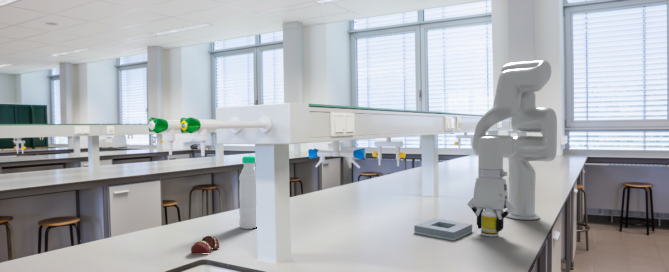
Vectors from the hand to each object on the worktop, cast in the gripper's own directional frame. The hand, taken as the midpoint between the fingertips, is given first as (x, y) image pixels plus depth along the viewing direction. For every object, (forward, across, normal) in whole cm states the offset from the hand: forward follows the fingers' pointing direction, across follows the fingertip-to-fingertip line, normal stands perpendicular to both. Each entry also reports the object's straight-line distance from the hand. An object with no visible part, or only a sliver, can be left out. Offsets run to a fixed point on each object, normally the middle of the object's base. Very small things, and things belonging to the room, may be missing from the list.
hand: (489, 228), depth 141 cm
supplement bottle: (+2, 0, 0) cm, 2 cm away
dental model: (+2, +55, +71) cm, 90 cm away
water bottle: (+2, +68, +45) cm, 82 cm away
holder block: (+2, +13, +7) cm, 15 cm away
